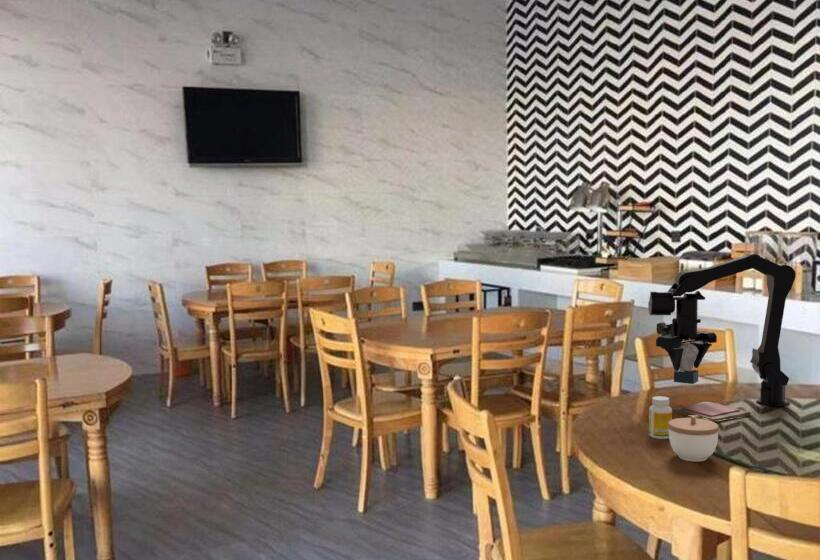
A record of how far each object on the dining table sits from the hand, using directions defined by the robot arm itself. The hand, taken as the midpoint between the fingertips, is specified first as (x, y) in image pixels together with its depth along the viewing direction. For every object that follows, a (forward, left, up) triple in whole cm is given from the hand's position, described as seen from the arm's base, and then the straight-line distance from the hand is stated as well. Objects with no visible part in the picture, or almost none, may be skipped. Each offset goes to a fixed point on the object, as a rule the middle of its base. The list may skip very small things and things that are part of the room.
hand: (686, 369), depth 226 cm
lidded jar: (+37, +36, -10) cm, 53 cm away
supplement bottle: (+31, +20, -10) cm, 38 cm away
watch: (0, 0, -4) cm, 4 cm away
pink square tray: (+4, +12, -10) cm, 16 cm away
